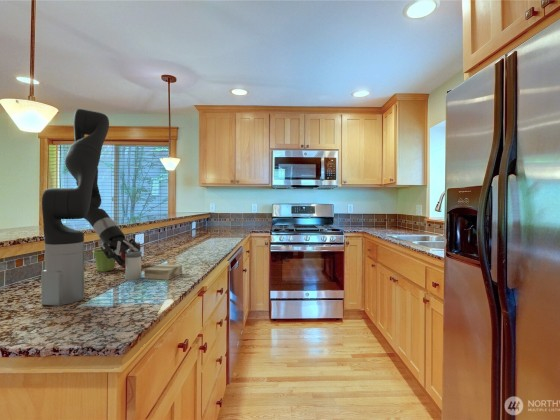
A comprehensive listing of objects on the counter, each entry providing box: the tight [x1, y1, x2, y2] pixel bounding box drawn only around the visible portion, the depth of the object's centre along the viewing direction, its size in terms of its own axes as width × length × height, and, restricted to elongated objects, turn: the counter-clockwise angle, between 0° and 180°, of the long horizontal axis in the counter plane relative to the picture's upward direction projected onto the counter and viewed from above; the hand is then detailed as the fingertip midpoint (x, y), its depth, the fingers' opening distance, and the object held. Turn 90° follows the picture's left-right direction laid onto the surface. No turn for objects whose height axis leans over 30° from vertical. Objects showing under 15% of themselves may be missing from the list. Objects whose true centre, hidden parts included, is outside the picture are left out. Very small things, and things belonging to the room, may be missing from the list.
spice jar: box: [124, 251, 143, 281], centre depth 108 cm, size 6×6×10 cm
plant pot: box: [91, 248, 116, 273], centre depth 121 cm, size 9×9×9 cm
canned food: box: [120, 241, 141, 269], centre depth 129 cm, size 8×8×11 cm
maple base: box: [143, 263, 183, 281], centre depth 113 cm, size 10×10×4 cm
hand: (132, 262), depth 109 cm, fingers open, 8 cm apart
